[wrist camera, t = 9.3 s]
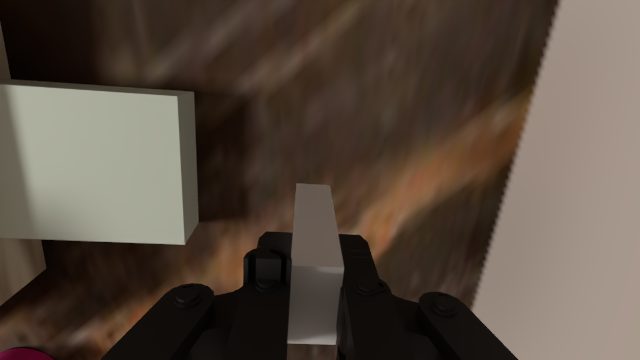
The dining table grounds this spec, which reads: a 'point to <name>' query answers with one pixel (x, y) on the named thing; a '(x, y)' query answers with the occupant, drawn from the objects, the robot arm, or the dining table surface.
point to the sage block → (97, 163)
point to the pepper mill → (23, 355)
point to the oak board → (11, 253)
